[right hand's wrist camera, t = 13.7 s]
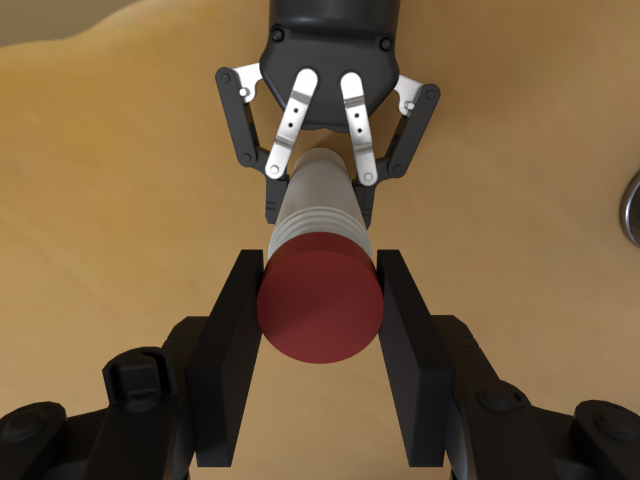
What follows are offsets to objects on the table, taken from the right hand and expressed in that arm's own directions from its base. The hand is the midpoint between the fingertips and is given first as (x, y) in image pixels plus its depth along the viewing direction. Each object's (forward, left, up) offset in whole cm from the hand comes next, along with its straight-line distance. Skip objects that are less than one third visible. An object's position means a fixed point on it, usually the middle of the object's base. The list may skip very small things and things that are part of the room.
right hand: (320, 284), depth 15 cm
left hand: (-2, +2, -14) cm, 14 cm away
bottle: (0, 0, -20) cm, 20 cm away
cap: (0, 0, +2) cm, 2 cm away
